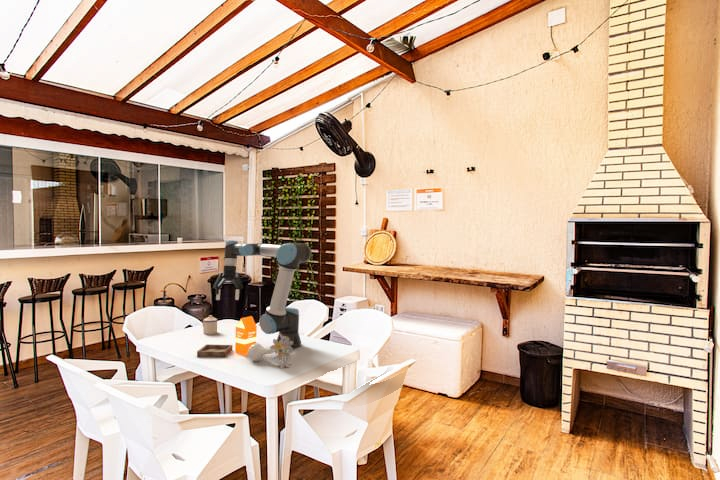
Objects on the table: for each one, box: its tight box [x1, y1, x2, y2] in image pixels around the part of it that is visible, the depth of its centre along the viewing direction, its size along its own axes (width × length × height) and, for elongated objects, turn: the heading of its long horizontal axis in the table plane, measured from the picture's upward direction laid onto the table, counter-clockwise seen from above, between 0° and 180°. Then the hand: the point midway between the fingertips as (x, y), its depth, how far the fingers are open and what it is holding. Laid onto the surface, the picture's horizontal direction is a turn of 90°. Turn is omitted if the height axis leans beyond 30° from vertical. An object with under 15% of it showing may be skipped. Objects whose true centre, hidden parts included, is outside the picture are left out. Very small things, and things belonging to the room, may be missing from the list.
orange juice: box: [234, 315, 257, 356], centre depth 237 cm, size 8×9×20 cm
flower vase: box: [247, 332, 295, 369], centre depth 218 cm, size 13×18×25 cm
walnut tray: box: [196, 343, 233, 358], centre depth 233 cm, size 15×14×3 cm
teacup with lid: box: [202, 314, 218, 335], centre depth 280 cm, size 12×9×12 cm
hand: (227, 299), depth 256 cm, fingers open, 13 cm apart
